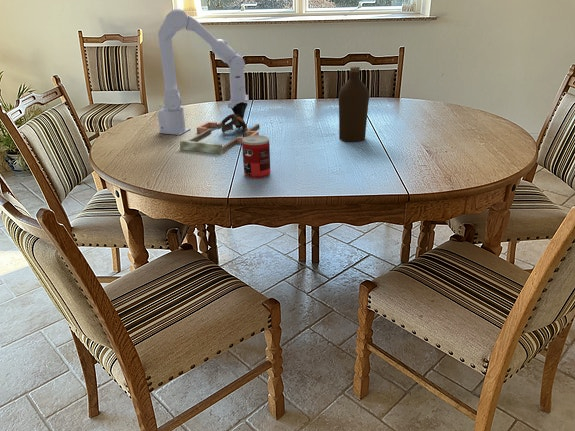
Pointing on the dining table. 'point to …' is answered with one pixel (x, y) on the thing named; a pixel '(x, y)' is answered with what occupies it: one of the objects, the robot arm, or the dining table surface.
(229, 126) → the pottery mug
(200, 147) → the channel
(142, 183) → the dining table surface
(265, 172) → the canned food
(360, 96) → the olive oil
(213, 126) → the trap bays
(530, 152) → the dining table surface
